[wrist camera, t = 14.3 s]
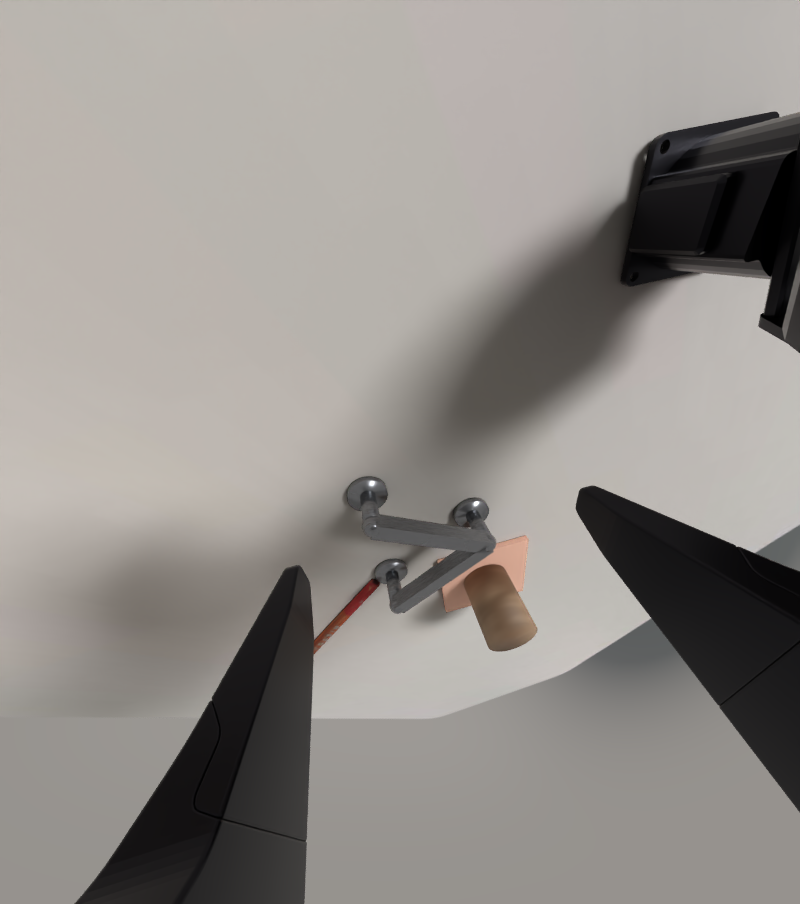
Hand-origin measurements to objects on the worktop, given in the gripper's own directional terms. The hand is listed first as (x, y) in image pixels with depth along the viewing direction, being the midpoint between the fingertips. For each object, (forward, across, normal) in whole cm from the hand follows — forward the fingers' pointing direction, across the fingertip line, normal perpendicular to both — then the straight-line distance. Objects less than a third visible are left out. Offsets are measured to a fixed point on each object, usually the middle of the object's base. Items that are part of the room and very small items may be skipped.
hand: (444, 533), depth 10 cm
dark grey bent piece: (+12, -1, +13) cm, 18 cm away
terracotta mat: (+12, -6, +23) cm, 27 cm away
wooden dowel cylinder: (+12, -6, +23) cm, 26 cm away
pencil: (+13, +11, +26) cm, 31 cm away
